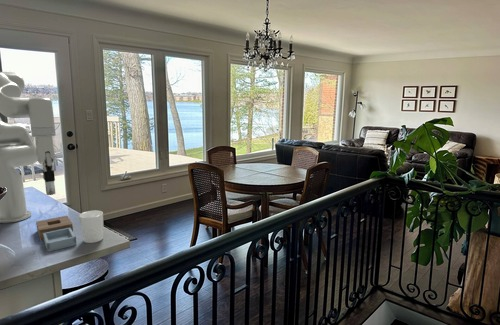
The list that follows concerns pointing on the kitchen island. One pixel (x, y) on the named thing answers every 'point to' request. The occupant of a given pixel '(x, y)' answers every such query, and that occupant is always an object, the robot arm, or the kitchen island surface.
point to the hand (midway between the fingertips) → (49, 180)
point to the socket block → (53, 225)
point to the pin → (49, 186)
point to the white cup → (92, 226)
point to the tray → (59, 239)
